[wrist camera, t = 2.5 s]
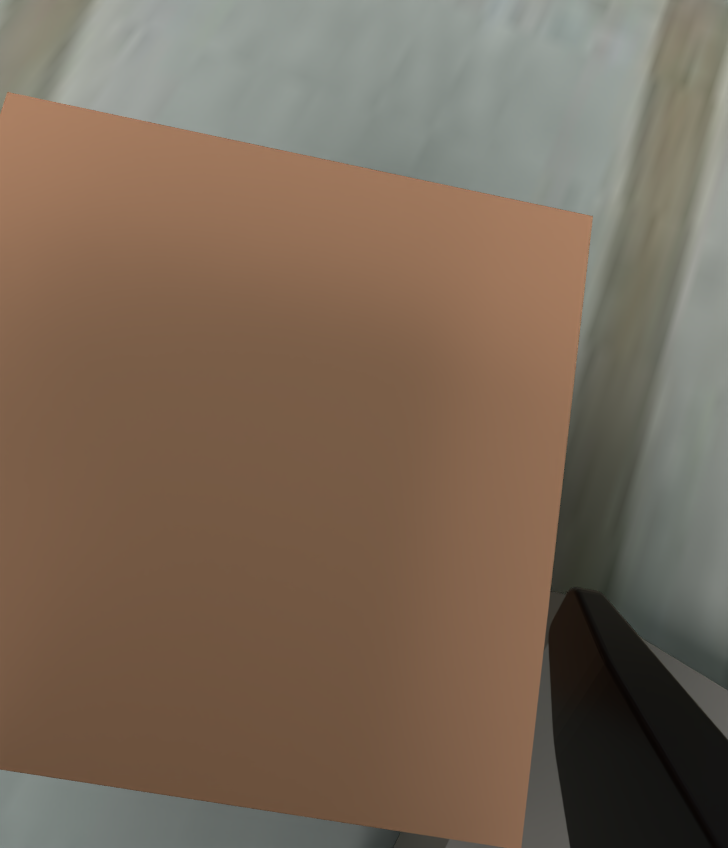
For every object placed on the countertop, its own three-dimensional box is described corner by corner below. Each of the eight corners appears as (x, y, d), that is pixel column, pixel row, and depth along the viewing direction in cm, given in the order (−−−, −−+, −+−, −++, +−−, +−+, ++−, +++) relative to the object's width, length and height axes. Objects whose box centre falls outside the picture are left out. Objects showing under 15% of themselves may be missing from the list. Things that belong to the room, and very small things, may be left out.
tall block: (367, 636, 17) (521, 851, 5) (161, 600, 17) (-204, 738, 5) (401, 436, 18) (592, 216, 6) (207, 399, 18) (7, 92, 6)
